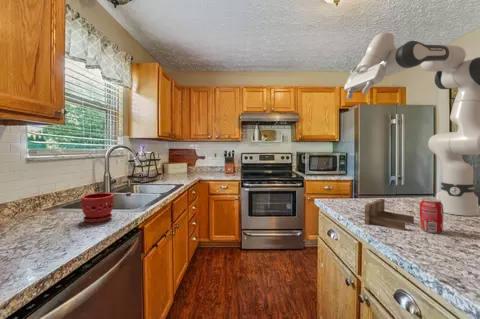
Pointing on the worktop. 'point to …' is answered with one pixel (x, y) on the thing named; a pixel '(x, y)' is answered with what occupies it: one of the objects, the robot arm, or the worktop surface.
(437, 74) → the robot arm
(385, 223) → the bay
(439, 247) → the worktop surface
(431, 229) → the soda can
